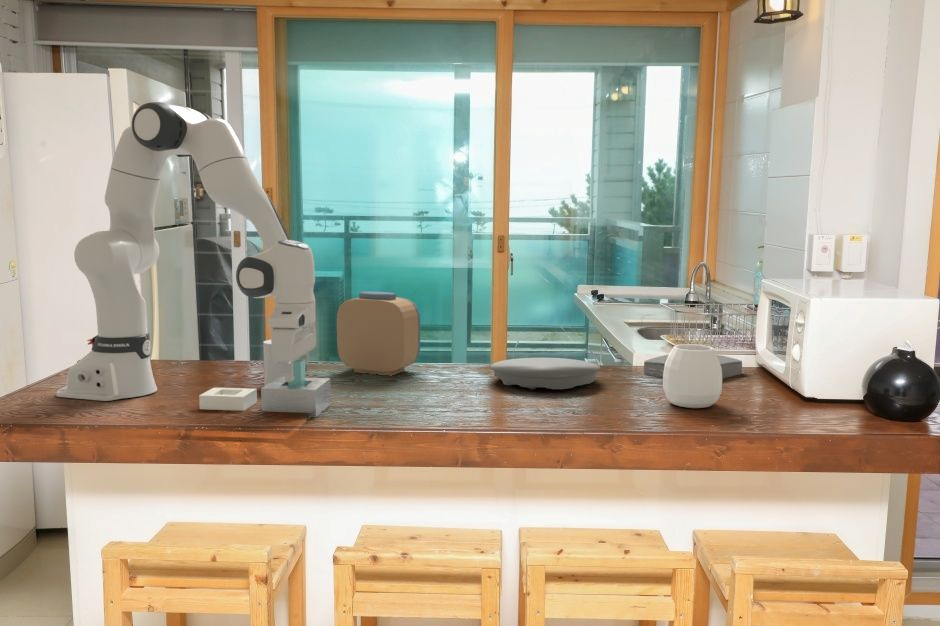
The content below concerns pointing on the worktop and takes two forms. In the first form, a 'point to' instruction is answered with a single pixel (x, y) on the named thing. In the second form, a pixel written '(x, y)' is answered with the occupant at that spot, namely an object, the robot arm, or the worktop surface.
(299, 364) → the plug
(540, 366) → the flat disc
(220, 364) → the worktop surface
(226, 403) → the white square-hole block
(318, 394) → the port
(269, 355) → the cup
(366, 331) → the alarm clock
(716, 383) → the cup
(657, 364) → the electronic device
